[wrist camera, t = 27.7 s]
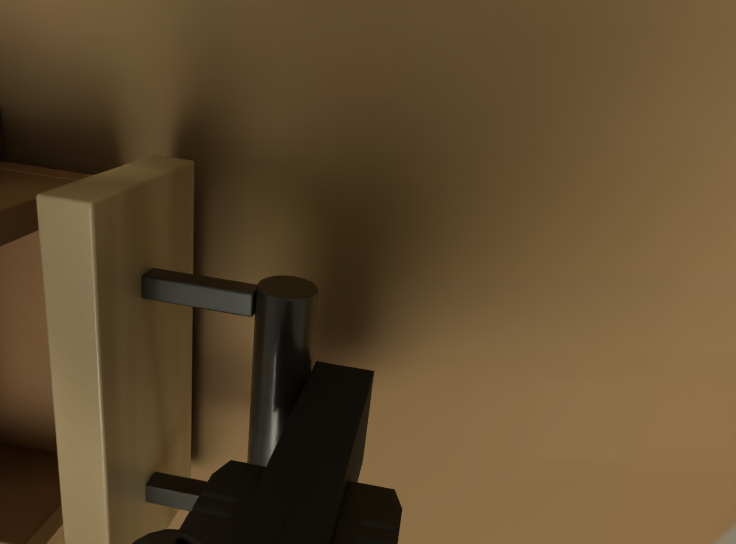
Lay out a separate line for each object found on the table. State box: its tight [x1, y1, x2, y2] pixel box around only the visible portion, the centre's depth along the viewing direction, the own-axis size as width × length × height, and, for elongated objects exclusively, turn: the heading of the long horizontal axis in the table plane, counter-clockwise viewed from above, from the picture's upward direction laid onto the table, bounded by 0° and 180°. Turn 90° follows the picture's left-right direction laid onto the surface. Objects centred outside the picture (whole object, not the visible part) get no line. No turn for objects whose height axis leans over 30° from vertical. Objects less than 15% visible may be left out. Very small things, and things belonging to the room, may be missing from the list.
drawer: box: [0, 155, 318, 544], centre depth 16 cm, size 17×11×5 cm, turn 83°
